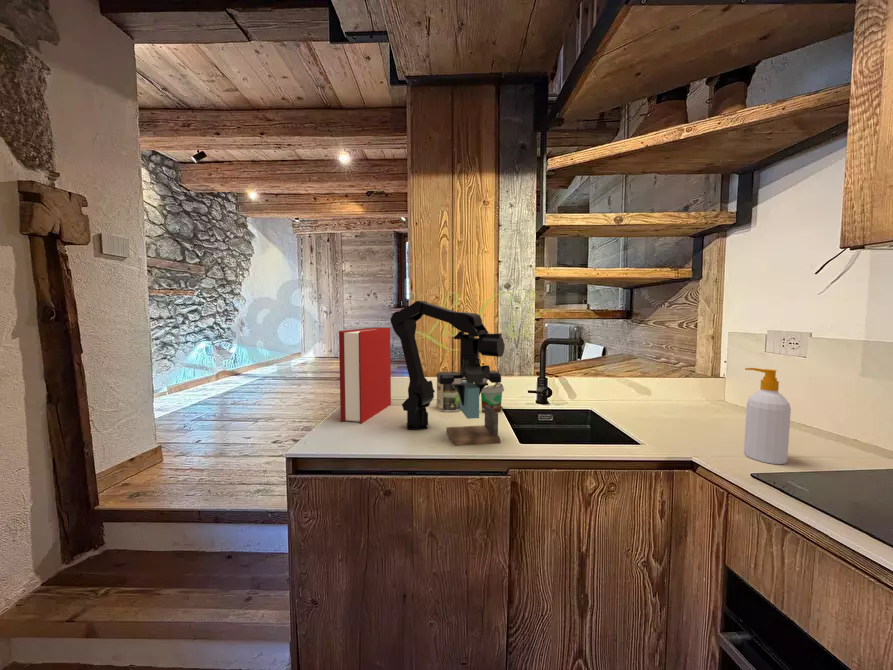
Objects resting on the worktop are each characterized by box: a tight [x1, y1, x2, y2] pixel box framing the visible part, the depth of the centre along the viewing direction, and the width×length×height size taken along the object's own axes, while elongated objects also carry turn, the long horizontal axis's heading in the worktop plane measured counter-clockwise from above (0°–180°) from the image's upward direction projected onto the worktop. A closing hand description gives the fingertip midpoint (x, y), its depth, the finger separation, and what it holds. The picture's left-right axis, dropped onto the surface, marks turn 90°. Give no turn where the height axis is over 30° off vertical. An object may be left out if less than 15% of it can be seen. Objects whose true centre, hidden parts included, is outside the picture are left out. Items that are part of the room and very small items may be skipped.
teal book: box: [460, 380, 480, 420], centre depth 109 cm, size 4×11×9 cm, turn 10°
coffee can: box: [436, 371, 461, 413], centre depth 142 cm, size 10×10×14 cm
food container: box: [480, 382, 505, 414], centre depth 139 cm, size 12×6×10 cm, turn 143°
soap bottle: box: [743, 367, 792, 465], centre depth 94 cm, size 9×9×24 cm
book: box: [338, 327, 392, 424], centre depth 136 cm, size 27×8×32 cm, turn 166°
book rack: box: [446, 405, 501, 447], centre depth 110 cm, size 14×12×8 cm
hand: (468, 405), depth 109 cm, fingers closed on teal book, 3 cm apart
